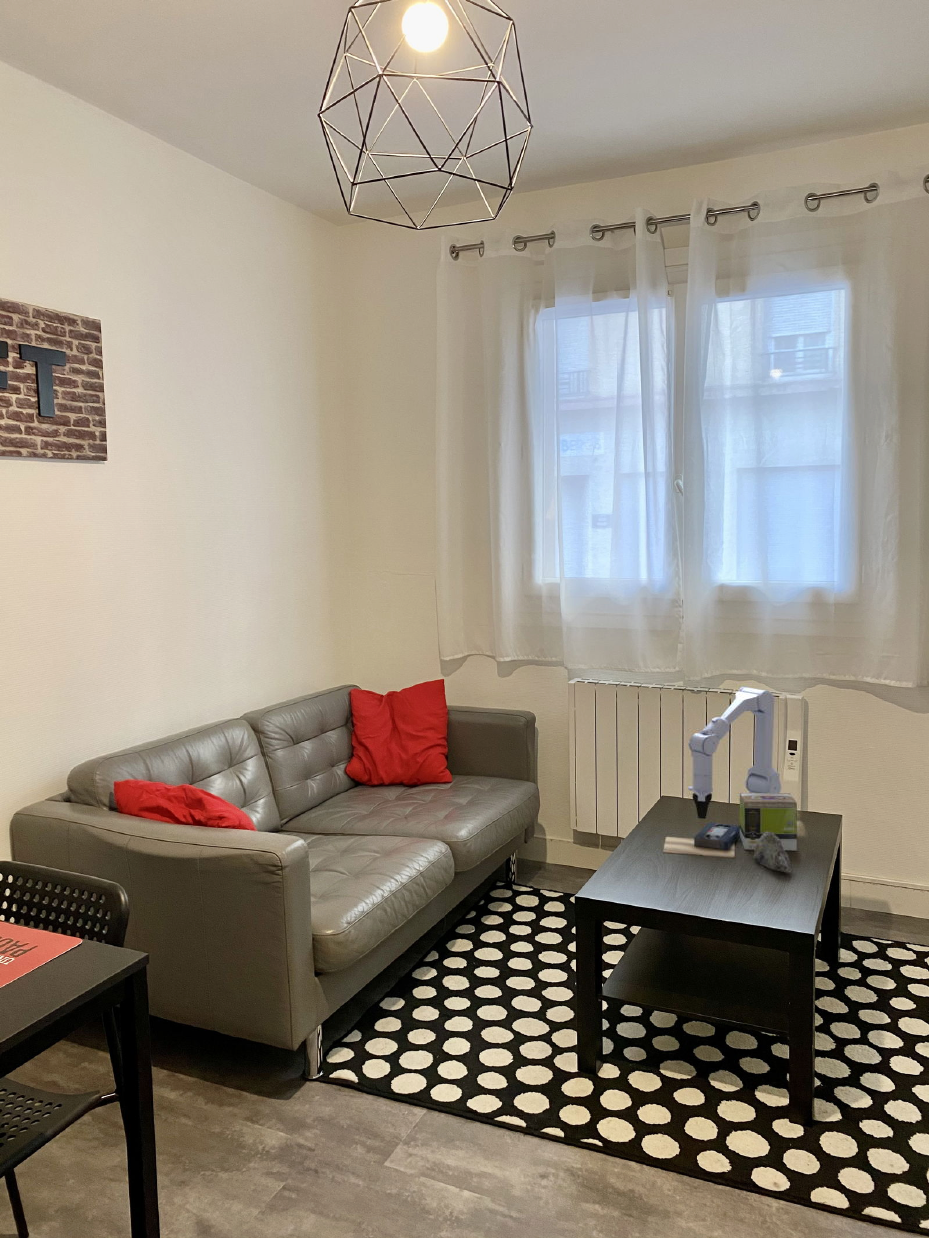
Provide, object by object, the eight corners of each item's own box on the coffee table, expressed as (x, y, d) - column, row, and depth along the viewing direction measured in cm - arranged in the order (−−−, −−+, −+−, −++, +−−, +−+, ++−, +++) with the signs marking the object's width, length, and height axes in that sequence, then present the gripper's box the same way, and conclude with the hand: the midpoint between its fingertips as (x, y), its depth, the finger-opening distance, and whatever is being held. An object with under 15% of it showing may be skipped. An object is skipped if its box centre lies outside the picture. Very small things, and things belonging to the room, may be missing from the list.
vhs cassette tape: (709, 821, 304) (742, 825, 299) (709, 830, 304) (742, 835, 299) (693, 835, 287) (727, 840, 283) (693, 845, 288) (727, 850, 283)
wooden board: (666, 837, 297) (666, 836, 296) (734, 842, 291) (734, 841, 291) (663, 852, 284) (663, 851, 284) (734, 858, 278) (734, 857, 278)
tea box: (790, 840, 293) (791, 792, 291) (797, 851, 283) (798, 802, 281) (738, 838, 295) (739, 791, 293) (743, 850, 285) (744, 800, 283)
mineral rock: (790, 879, 262) (791, 843, 261) (748, 874, 266) (749, 838, 265) (794, 863, 274) (795, 828, 273) (754, 858, 278) (755, 824, 277)
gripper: (689, 766, 300) (689, 809, 301) (687, 779, 286) (687, 824, 287) (713, 768, 298) (713, 811, 299) (712, 780, 284) (711, 826, 285)
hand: (702, 817), depth 293 cm, fingers closed
